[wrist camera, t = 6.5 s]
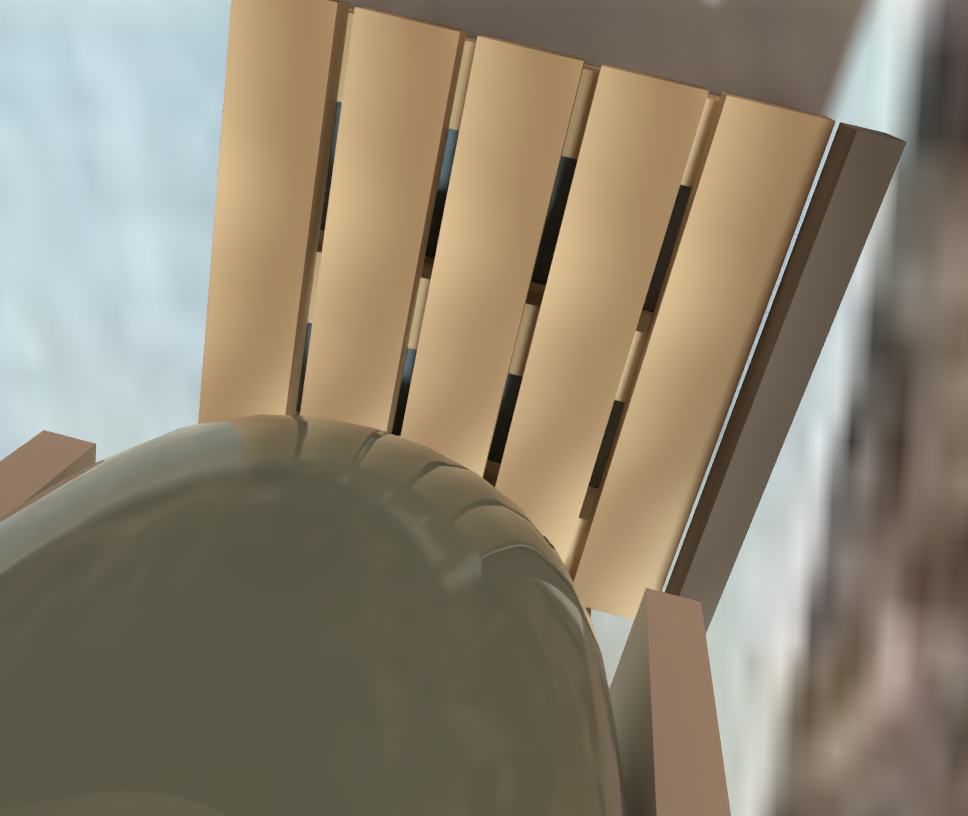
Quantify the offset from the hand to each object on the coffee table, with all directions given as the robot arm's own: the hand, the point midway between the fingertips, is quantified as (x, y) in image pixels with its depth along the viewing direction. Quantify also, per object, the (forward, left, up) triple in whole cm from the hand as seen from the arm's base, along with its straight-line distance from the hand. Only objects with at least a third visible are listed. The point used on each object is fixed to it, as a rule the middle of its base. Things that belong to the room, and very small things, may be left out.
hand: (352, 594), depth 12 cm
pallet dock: (0, 0, -14) cm, 14 cm away
